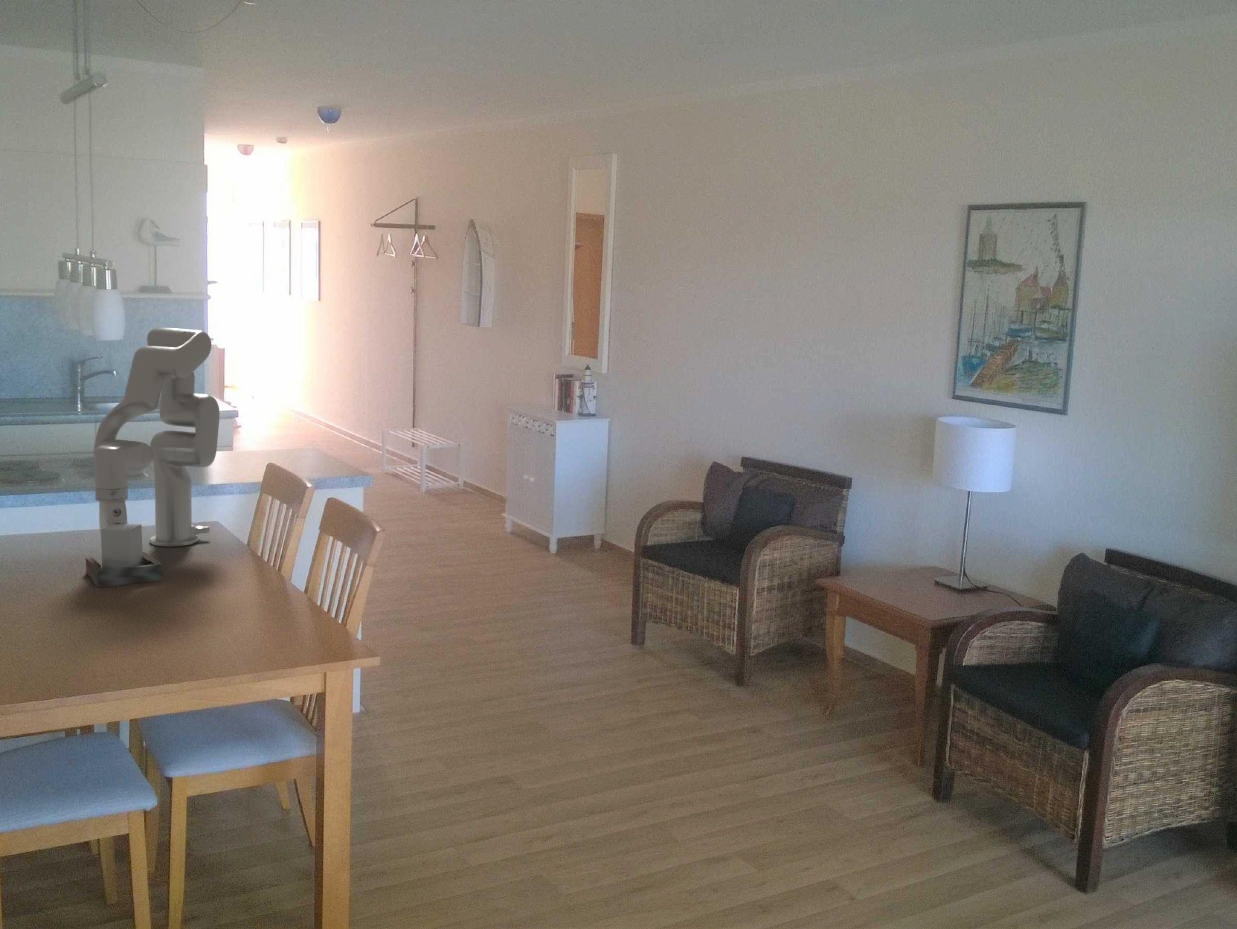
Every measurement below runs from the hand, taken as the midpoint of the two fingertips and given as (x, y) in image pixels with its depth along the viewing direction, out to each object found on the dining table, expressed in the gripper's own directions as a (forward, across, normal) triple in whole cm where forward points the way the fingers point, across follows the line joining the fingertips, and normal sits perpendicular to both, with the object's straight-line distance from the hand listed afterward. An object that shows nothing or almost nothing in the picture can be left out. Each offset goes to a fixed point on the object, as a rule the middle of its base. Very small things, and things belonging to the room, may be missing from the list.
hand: (113, 563), depth 289 cm
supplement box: (+1, -8, 0) cm, 8 cm away
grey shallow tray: (+1, -10, 0) cm, 10 cm away
